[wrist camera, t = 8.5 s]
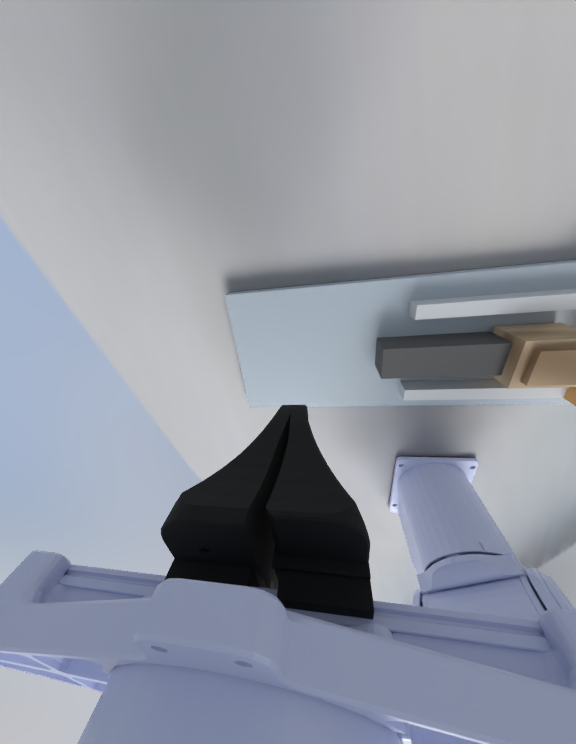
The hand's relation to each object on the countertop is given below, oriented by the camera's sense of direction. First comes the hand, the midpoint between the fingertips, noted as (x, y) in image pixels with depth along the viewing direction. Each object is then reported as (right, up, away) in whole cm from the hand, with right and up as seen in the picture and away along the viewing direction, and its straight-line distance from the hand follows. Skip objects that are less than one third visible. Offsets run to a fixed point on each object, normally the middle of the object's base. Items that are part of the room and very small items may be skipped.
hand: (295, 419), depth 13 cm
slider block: (+17, +4, +5) cm, 18 cm away
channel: (+9, +5, +7) cm, 13 cm away
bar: (+11, +4, +6) cm, 13 cm away
